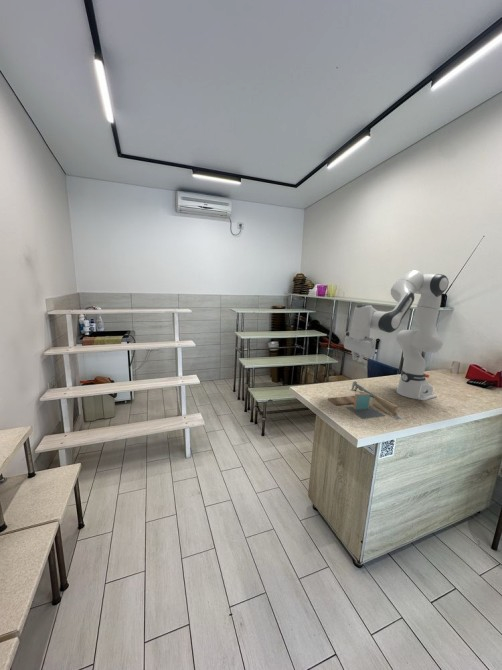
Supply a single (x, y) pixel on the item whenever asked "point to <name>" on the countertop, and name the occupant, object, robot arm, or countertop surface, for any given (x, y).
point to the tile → (361, 401)
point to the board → (342, 400)
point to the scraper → (387, 407)
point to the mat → (366, 412)
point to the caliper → (362, 389)
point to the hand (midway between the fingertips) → (357, 360)
